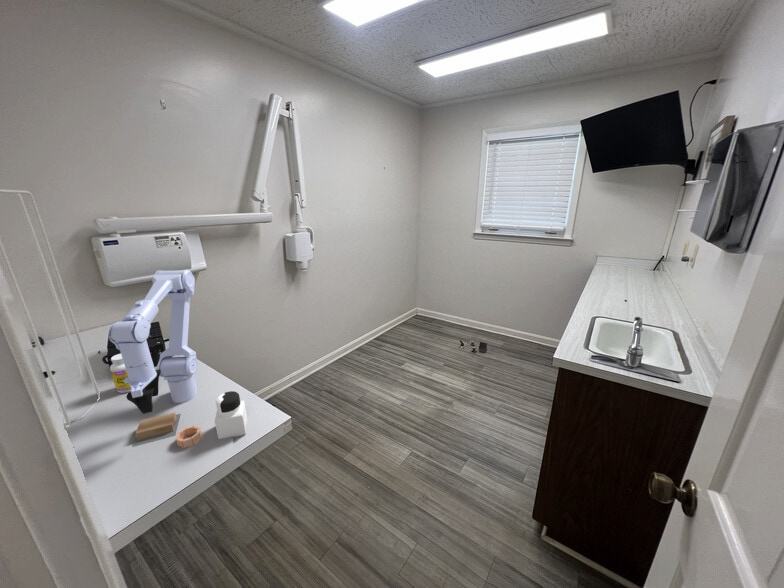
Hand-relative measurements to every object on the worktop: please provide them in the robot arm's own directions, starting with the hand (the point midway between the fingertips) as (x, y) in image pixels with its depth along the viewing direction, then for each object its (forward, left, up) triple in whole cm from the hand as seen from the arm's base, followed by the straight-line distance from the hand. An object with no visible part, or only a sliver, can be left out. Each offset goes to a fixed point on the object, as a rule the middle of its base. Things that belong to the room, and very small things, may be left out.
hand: (150, 403), depth 88 cm
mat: (0, 0, -10) cm, 10 cm away
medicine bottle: (+8, +20, -10) cm, 24 cm away
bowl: (+8, +9, -10) cm, 16 cm away
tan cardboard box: (0, 0, -9) cm, 9 cm away
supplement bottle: (-30, -14, -10) cm, 34 cm away
